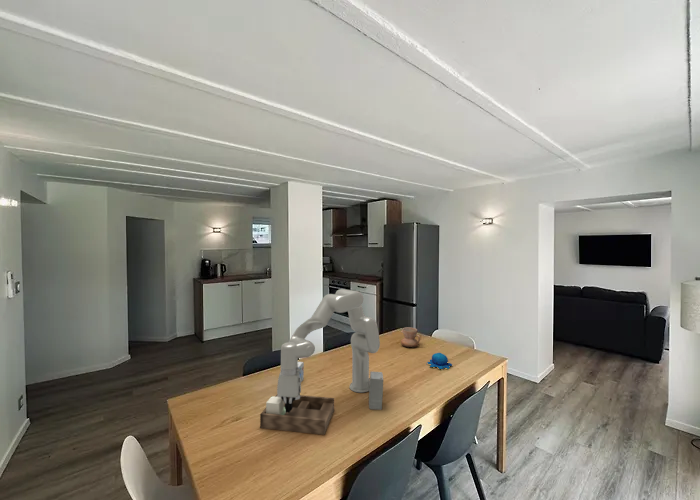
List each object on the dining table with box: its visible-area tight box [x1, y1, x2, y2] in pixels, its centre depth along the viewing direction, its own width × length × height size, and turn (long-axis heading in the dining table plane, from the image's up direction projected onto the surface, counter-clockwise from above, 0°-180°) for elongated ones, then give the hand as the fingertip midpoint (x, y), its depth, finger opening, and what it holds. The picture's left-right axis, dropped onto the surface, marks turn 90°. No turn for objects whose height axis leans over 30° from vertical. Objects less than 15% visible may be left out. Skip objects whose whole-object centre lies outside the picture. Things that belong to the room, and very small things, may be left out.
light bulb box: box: [298, 361, 305, 383], centre depth 173 cm, size 11×7×11 cm, turn 169°
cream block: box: [265, 395, 284, 415], centre depth 133 cm, size 6×6×6 cm
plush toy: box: [426, 352, 453, 370], centre depth 202 cm, size 17×17×8 cm
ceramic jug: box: [400, 326, 421, 348], centre depth 242 cm, size 18×14×14 cm
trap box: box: [259, 394, 335, 436], centre depth 136 cm, size 29×19×6 cm, turn 81°
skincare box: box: [368, 371, 384, 411], centre depth 148 cm, size 8×7×16 cm
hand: (288, 410), depth 133 cm, fingers closed
